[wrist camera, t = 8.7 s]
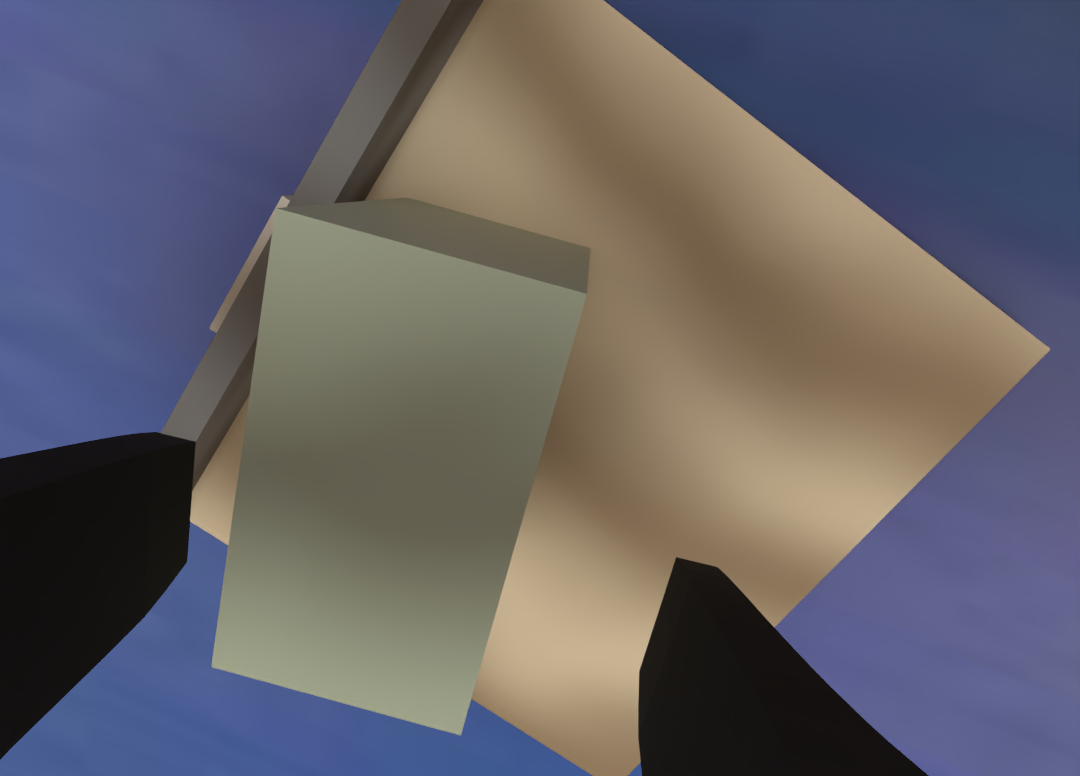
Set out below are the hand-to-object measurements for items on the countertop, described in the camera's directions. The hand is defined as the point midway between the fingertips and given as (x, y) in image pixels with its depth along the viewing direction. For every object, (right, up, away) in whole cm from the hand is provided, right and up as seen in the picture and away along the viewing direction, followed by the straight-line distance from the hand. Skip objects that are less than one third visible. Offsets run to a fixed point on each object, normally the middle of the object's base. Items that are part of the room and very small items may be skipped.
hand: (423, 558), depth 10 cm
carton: (0, +3, +7) cm, 8 cm away
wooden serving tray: (+2, +2, +9) cm, 9 cm away
